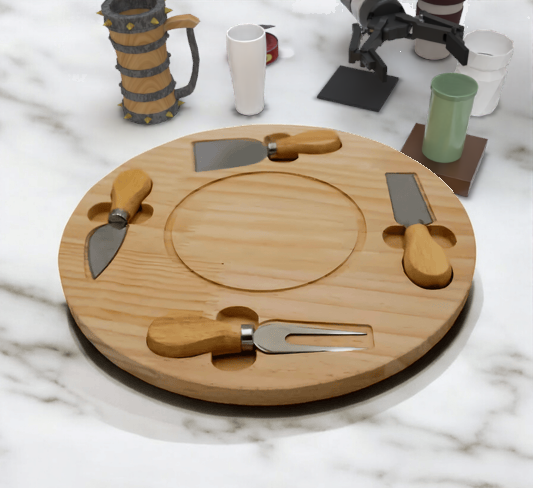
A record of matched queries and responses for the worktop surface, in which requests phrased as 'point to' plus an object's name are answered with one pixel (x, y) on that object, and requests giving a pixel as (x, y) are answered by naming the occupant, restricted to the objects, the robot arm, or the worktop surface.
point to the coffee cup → (446, 7)
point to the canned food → (270, 46)
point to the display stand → (452, 173)
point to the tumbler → (448, 116)
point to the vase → (487, 67)
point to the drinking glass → (247, 66)
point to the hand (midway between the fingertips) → (426, 66)
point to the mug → (148, 57)
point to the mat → (357, 88)
